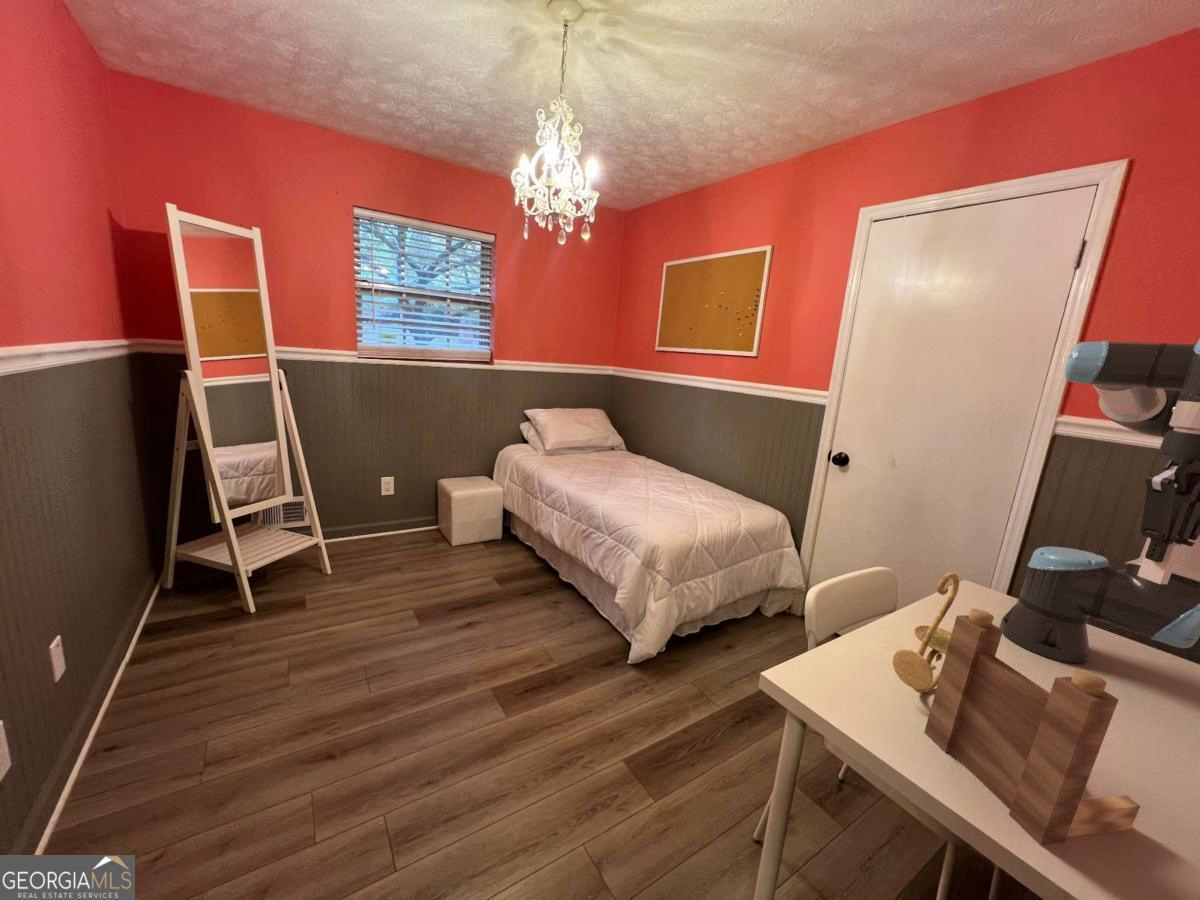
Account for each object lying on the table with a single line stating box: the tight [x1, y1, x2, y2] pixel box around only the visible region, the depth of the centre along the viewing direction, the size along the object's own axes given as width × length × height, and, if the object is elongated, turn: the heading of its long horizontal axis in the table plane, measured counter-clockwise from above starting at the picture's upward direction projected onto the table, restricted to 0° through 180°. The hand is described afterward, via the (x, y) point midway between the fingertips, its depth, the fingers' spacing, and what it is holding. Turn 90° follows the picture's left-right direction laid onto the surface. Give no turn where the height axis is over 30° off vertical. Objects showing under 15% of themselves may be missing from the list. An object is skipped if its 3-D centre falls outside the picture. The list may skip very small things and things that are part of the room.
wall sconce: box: [892, 572, 960, 694], centre depth 84 cm, size 14×10×25 cm
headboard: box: [924, 608, 1141, 846], centre depth 67 cm, size 16×18×24 cm
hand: (1152, 579), depth 72 cm, fingers closed
